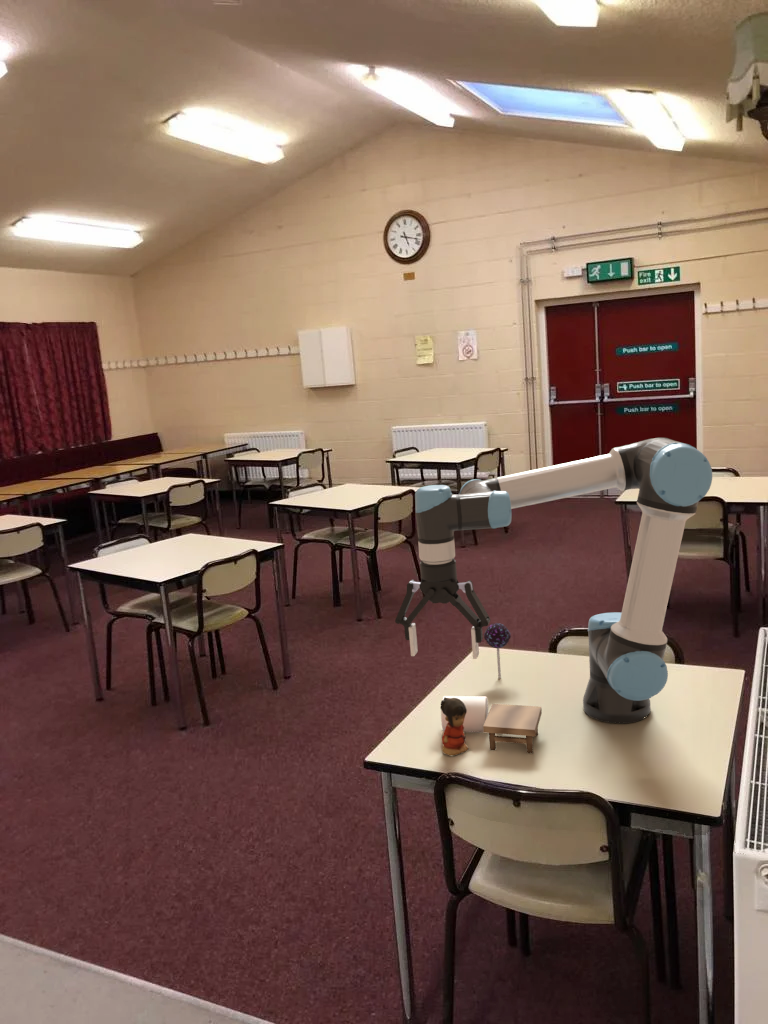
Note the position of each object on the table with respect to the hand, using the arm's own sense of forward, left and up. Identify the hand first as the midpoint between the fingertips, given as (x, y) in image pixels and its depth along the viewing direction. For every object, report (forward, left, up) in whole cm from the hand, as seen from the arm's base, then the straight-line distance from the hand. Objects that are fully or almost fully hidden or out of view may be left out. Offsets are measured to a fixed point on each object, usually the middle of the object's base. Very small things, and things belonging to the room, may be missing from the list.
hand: (444, 655), depth 170 cm
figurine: (-1, +1, -22) cm, 22 cm away
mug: (-1, -11, -22) cm, 25 cm away
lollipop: (-4, -38, -22) cm, 44 cm away
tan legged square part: (-13, -5, -22) cm, 26 cm away
